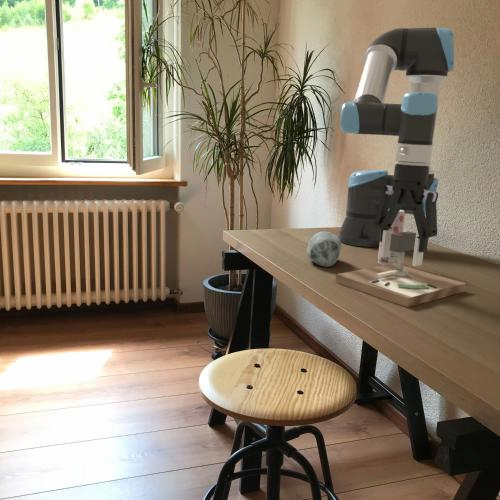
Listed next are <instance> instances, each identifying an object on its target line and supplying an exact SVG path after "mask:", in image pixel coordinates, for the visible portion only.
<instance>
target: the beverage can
mask: <svg viewBox="0 0 500 500" xmlns="http://www.w3.org/2000/svg"><path fill="white" fill-rule="evenodd" d="M388 211H389V210H388ZM405 215H406V214H404V210H400V211H399V213H398V214H397V216H396V218H395V220H394V222H393V224H392V226H391V227H392V228H391V229H389V230H393V233H400V232H404V223H405ZM381 248H382V242H380V244H379V247H378V253H377V254H378V255H377V264H378V265H379V266H383V265H388V264H393V263H396V264H397V261H398V253H399V252H393V251H391V252H390V256H389V257H381Z"/></svg>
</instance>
